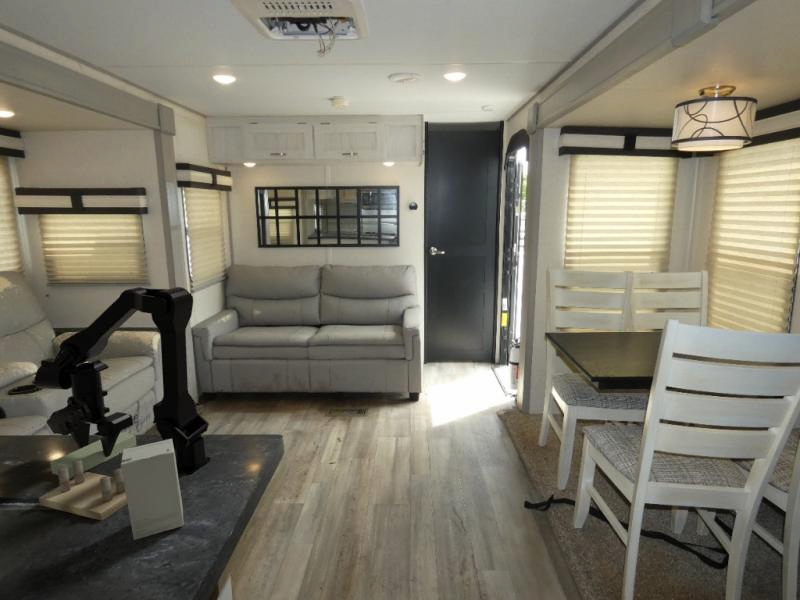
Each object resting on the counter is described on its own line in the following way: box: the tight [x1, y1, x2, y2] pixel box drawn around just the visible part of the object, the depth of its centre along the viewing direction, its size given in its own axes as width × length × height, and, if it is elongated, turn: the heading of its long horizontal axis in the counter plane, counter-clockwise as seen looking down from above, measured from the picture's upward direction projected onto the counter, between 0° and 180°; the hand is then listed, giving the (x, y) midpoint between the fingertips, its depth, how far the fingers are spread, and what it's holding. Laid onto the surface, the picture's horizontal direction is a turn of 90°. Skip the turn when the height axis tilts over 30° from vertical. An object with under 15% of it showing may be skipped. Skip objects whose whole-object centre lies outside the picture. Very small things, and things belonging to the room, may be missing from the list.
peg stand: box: [38, 460, 128, 521], centre depth 94 cm, size 16×10×6 cm, turn 71°
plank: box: [50, 431, 138, 480], centre depth 110 cm, size 16×6×3 cm, turn 158°
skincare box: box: [120, 439, 185, 541], centre depth 85 cm, size 8×6×15 cm
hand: (96, 454), depth 110 cm, fingers open, 7 cm apart
